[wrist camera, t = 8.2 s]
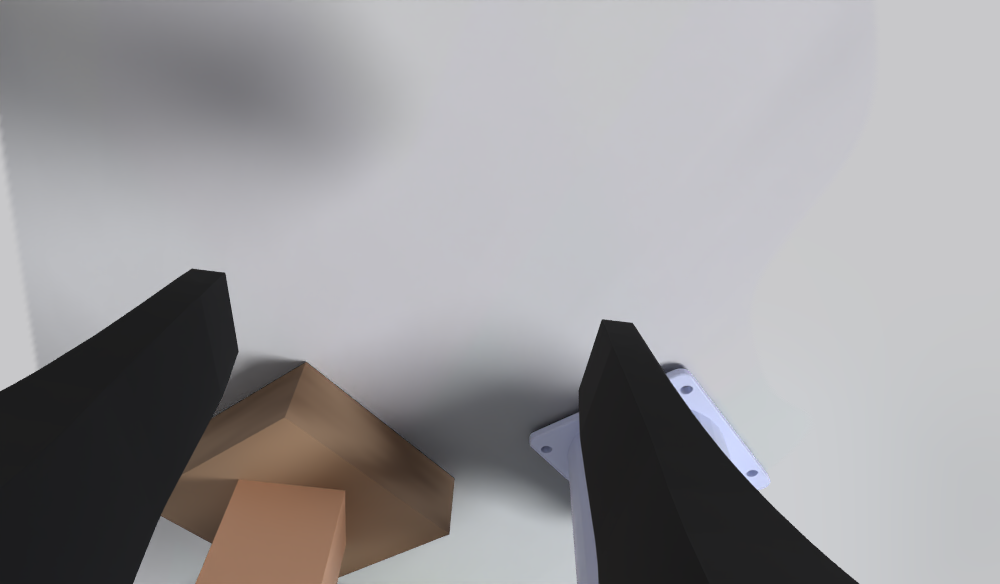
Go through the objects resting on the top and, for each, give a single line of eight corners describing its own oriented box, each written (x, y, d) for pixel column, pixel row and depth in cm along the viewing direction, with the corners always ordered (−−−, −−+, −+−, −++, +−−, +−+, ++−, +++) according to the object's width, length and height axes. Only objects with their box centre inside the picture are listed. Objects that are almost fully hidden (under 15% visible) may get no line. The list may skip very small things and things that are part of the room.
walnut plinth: (454, 478, 31) (449, 534, 28) (316, 538, 35) (302, 591, 32) (306, 362, 26) (284, 417, 24) (164, 446, 30) (134, 501, 27)
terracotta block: (345, 490, 26) (315, 609, 23) (345, 544, 29) (319, 659, 25) (238, 479, 26) (189, 597, 22) (249, 535, 29) (207, 649, 25)
